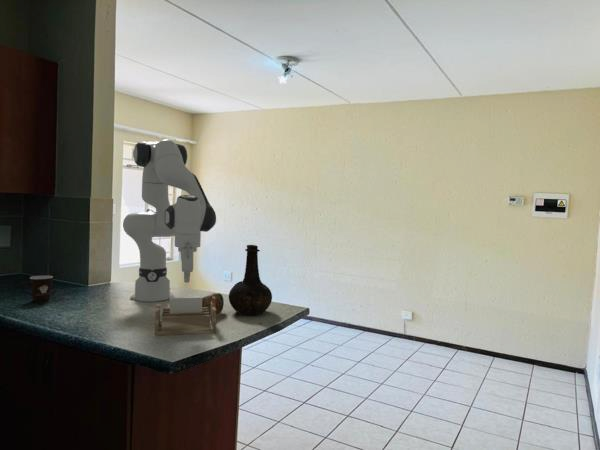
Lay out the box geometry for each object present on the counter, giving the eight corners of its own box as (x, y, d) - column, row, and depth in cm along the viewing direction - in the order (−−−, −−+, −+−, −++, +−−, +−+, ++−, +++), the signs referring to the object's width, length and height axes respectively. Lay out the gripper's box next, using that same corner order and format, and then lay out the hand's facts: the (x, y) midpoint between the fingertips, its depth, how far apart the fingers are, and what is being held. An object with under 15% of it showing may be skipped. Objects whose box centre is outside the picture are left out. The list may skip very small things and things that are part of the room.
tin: (204, 320, 170) (204, 298, 170) (197, 319, 171) (197, 297, 171) (224, 312, 184) (224, 291, 184) (217, 311, 185) (218, 291, 185)
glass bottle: (250, 305, 197) (252, 242, 196) (280, 312, 186) (282, 245, 184) (219, 312, 183) (220, 244, 182) (249, 320, 172) (251, 248, 171)
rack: (156, 324, 162) (157, 294, 162) (212, 322, 167) (213, 293, 167) (155, 335, 150) (155, 302, 149) (215, 332, 155) (216, 301, 154)
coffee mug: (54, 297, 198) (54, 275, 197) (50, 302, 190) (50, 278, 189) (24, 298, 194) (24, 275, 194) (19, 303, 186) (19, 279, 185)
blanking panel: (169, 325, 158) (170, 297, 158) (201, 323, 161) (202, 296, 160) (169, 326, 156) (169, 298, 156) (201, 325, 159) (202, 297, 159)
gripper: (197, 244, 148) (196, 286, 148) (195, 239, 167) (195, 275, 168) (178, 244, 146) (177, 286, 147) (178, 239, 166) (177, 276, 167)
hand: (186, 280), depth 158 cm, fingers open, 4 cm apart
